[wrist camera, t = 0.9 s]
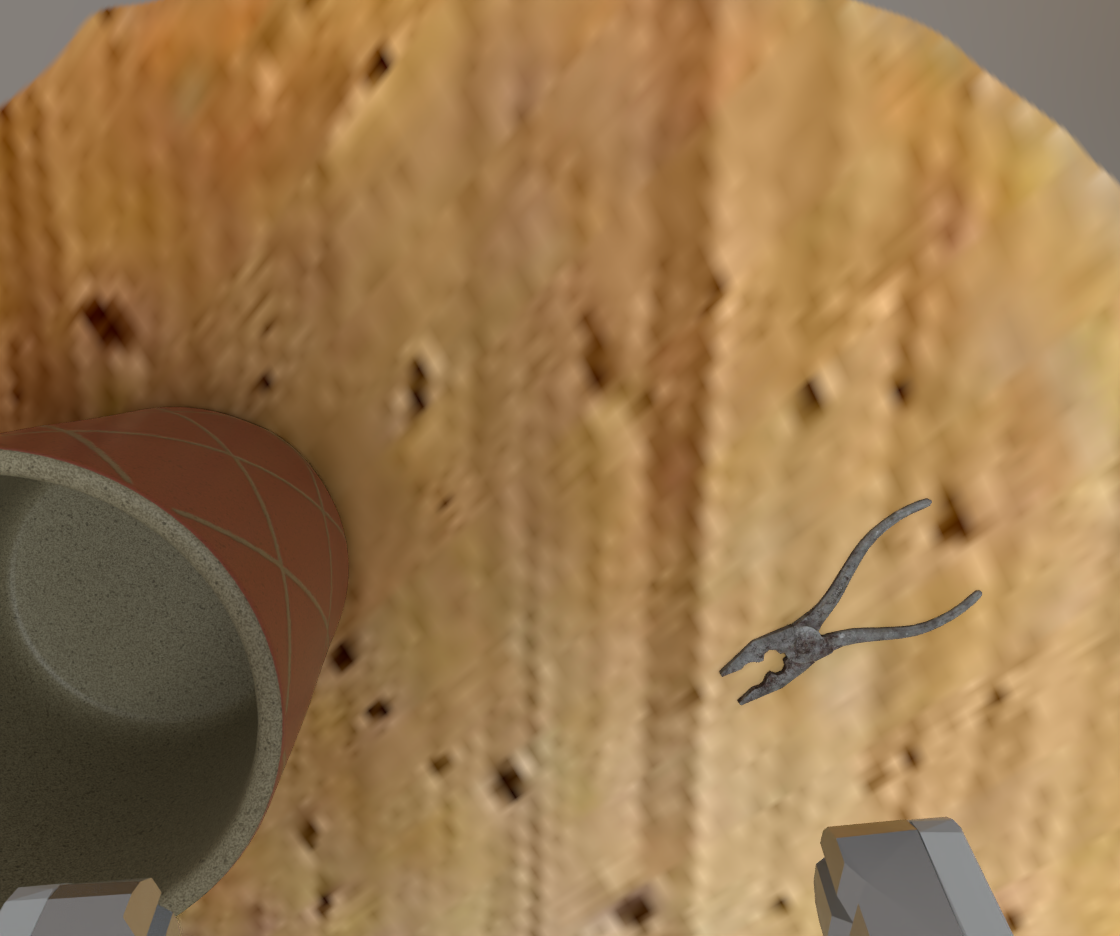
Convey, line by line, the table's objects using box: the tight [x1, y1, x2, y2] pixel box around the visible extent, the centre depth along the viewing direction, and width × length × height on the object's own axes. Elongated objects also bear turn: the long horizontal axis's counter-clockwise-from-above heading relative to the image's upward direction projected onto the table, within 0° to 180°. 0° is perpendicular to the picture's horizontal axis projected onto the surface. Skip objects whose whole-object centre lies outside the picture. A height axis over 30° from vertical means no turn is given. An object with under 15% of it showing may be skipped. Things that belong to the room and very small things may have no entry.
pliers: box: [719, 498, 982, 705], centre depth 62 cm, size 10×1×20 cm
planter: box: [0, 407, 349, 916], centre depth 46 cm, size 23×23×24 cm
